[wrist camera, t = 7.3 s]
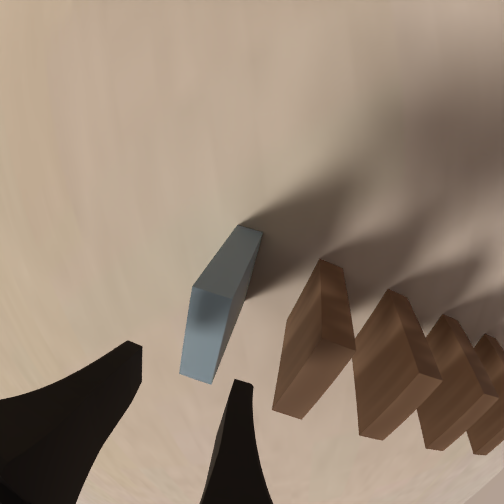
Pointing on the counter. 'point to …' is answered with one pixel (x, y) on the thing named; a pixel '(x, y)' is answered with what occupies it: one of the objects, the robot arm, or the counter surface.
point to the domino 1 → (218, 304)
